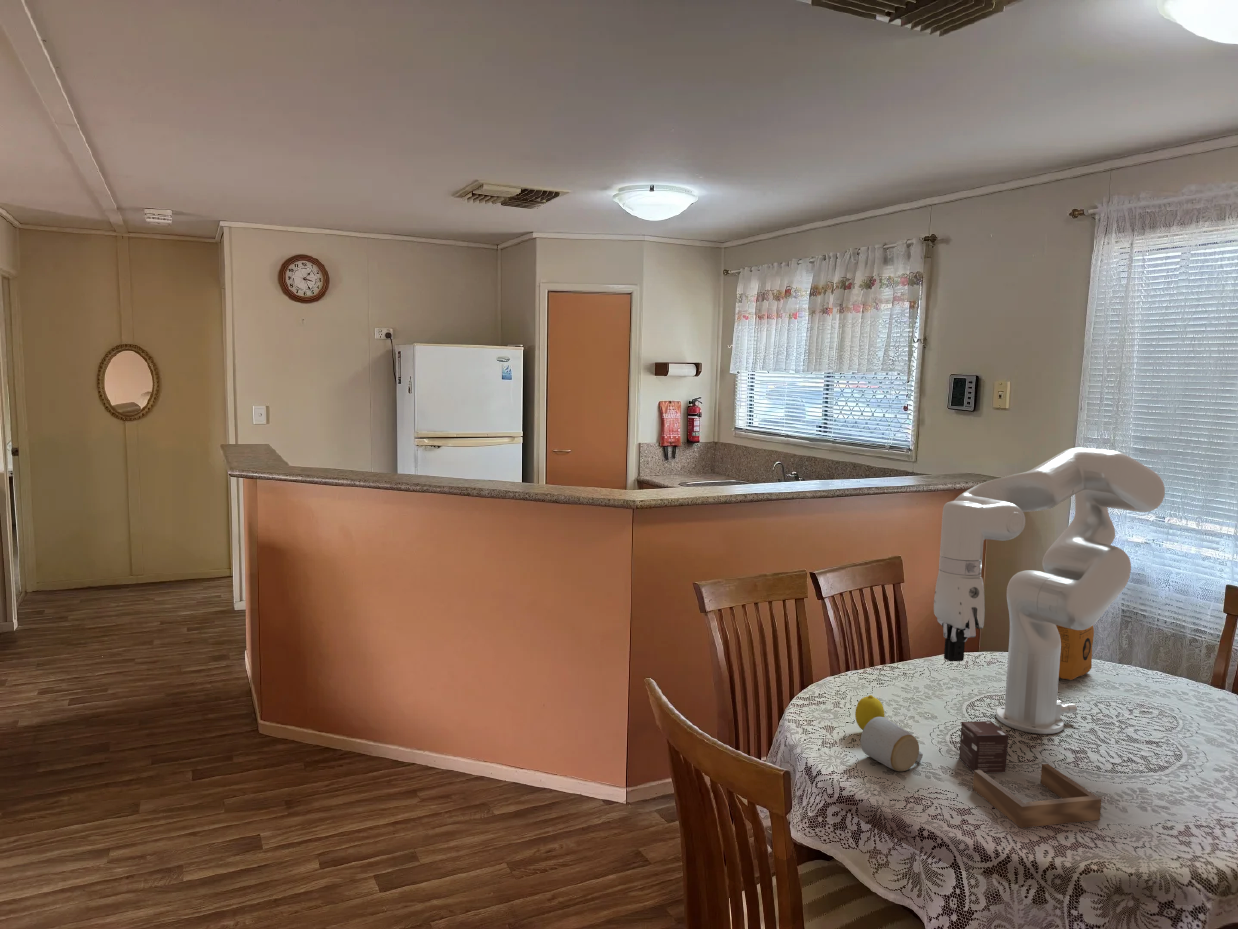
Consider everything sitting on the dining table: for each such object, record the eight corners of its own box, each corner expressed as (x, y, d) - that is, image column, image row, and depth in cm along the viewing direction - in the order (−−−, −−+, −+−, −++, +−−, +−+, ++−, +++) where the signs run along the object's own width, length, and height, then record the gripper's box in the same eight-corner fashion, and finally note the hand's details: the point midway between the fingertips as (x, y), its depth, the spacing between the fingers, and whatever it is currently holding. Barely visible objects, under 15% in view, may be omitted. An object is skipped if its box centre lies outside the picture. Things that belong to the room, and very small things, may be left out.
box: (958, 759, 155) (960, 721, 154) (989, 758, 156) (991, 720, 155) (974, 774, 149) (977, 735, 148) (1006, 773, 150) (1009, 734, 149)
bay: (1046, 783, 146) (1047, 764, 146) (1099, 819, 134) (1101, 799, 134) (972, 789, 143) (973, 770, 143) (1020, 828, 131) (1022, 806, 131)
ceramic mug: (892, 778, 147) (895, 736, 146) (858, 759, 154) (860, 719, 154) (933, 766, 152) (936, 726, 152) (899, 748, 159) (901, 710, 159)
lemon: (885, 741, 162) (887, 702, 161) (855, 738, 163) (857, 699, 162) (882, 730, 167) (883, 691, 166) (853, 727, 168) (855, 689, 168)
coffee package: (1098, 675, 200) (1105, 586, 198) (1071, 685, 194) (1078, 593, 191) (1057, 663, 209) (1063, 577, 206) (1030, 672, 202) (1036, 583, 199)
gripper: (1003, 575, 152) (995, 672, 154) (954, 557, 166) (948, 647, 168) (966, 575, 150) (959, 674, 152) (920, 558, 165) (914, 648, 167)
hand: (953, 659), depth 160 cm, fingers closed
